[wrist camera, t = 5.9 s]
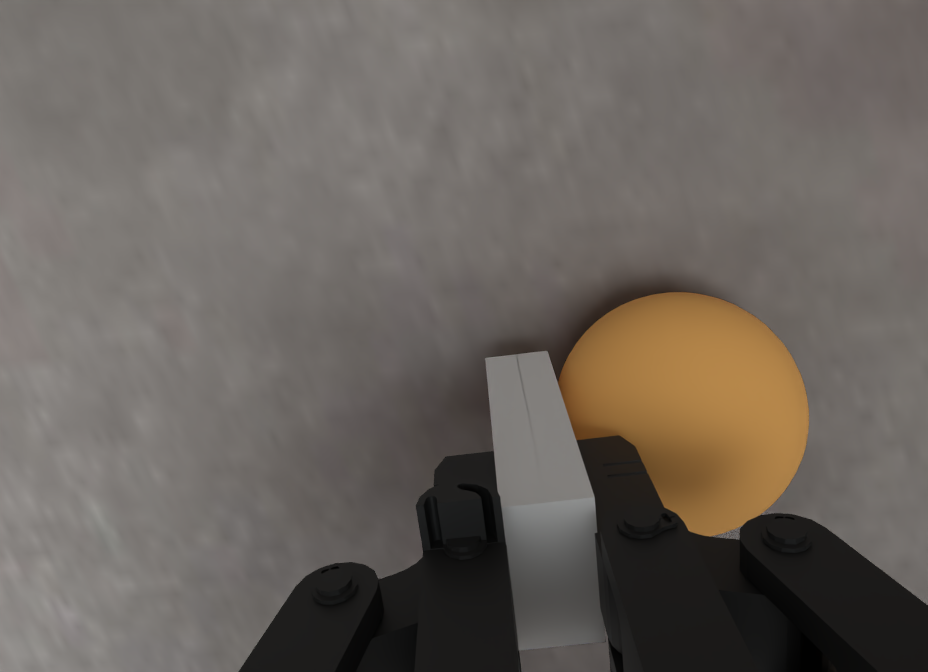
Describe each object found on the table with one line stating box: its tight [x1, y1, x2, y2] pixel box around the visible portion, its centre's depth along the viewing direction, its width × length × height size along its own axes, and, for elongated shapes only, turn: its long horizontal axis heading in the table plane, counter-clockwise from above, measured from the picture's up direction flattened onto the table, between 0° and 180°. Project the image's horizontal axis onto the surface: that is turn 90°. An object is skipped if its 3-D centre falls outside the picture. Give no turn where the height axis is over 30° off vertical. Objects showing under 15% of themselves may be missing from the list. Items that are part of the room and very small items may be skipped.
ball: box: [558, 292, 809, 536], centre depth 17 cm, size 6×6×6 cm
